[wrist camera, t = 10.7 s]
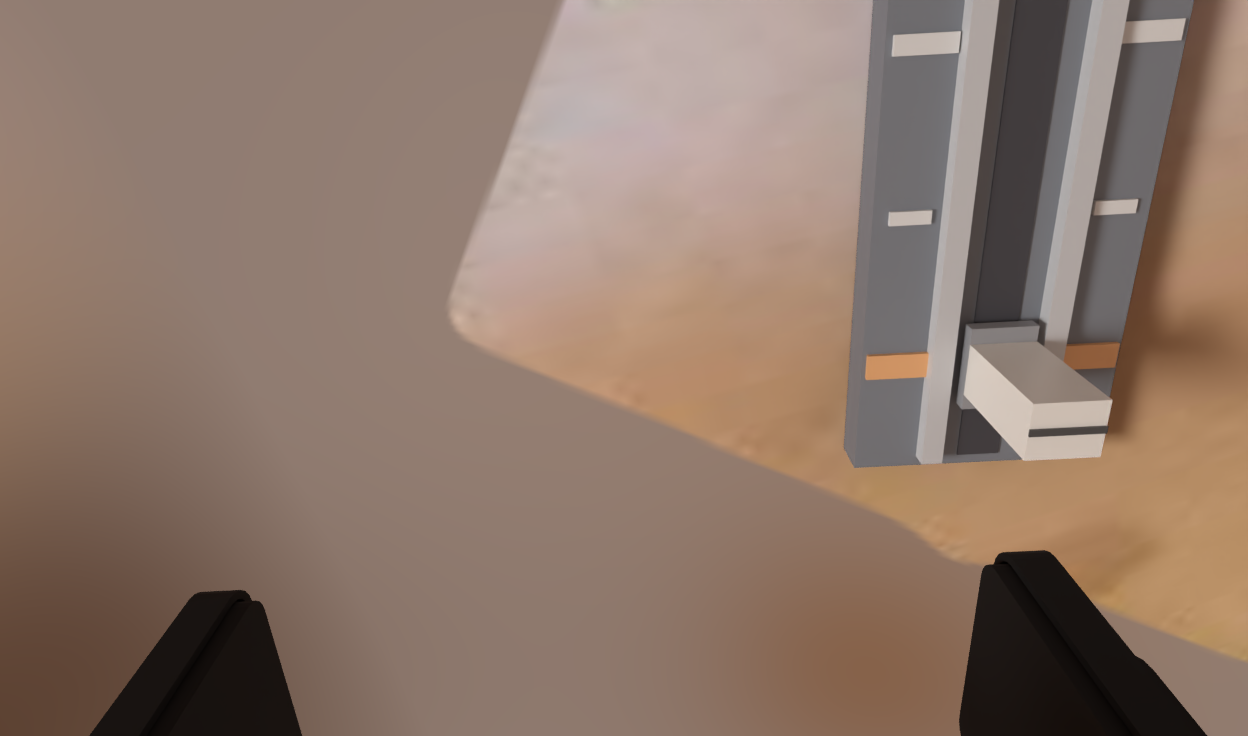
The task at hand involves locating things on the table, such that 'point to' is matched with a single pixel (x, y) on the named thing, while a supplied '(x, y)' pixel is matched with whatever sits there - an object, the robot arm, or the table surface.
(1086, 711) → the robot arm
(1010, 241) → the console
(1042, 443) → the fader knob
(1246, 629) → the table surface
